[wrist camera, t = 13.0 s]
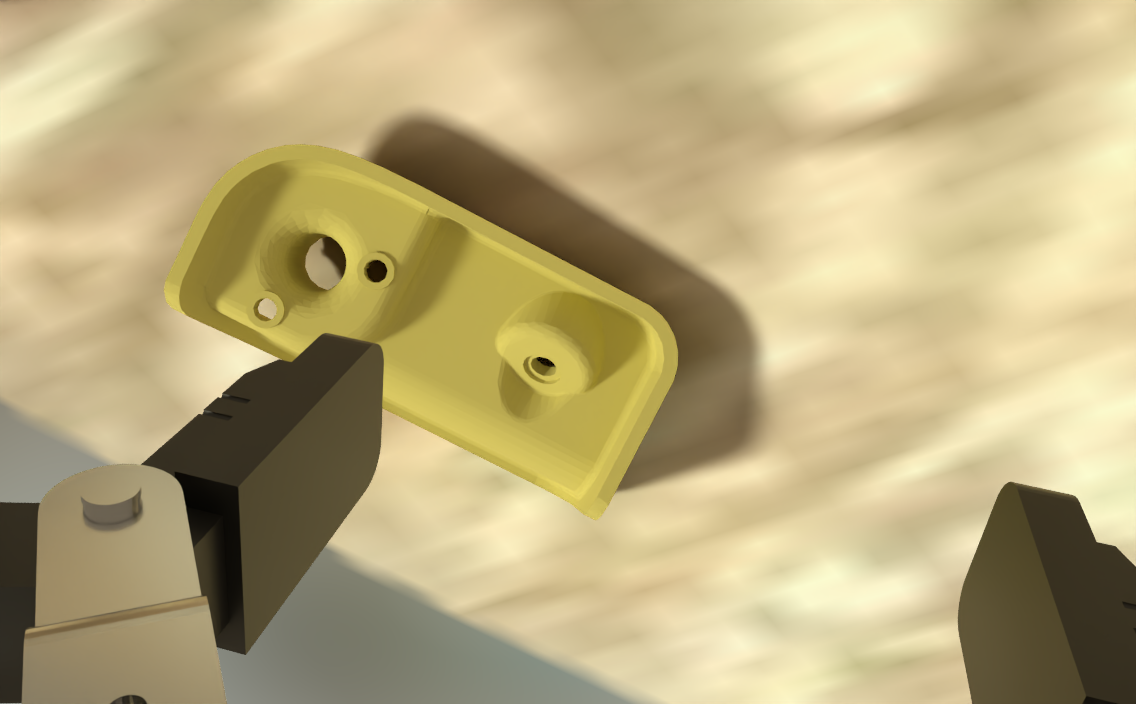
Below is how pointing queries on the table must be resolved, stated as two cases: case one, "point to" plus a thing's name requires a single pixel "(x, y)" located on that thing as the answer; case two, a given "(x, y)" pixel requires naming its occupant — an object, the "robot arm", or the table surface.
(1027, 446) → the table surface
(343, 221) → the plastic component
